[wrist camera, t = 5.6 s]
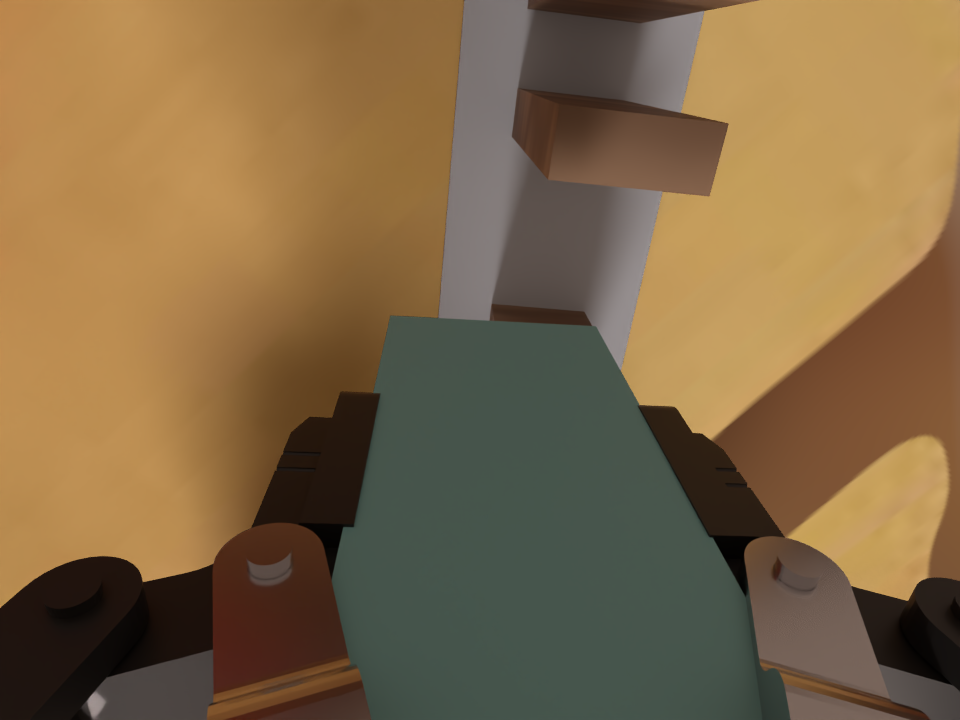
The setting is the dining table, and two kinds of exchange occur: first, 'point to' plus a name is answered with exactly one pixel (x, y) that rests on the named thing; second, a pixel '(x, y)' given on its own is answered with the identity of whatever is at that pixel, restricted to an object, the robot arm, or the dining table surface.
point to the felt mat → (523, 187)
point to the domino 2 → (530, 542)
